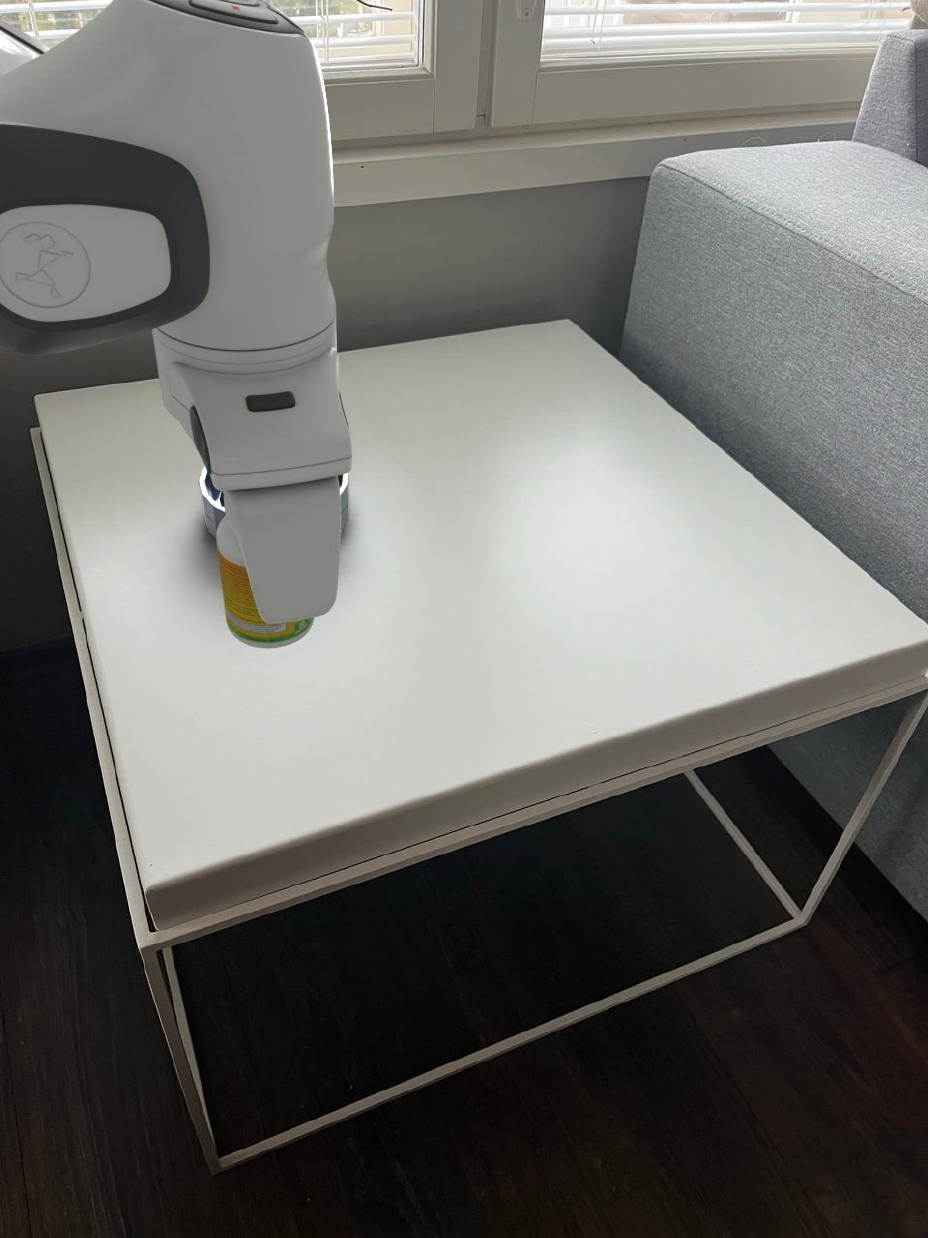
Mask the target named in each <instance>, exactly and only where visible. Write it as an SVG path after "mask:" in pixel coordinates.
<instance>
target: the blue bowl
mask: <svg viewBox="0 0 928 1238" xmlns="http://www.w3.org/2000/svg"><path fill="white" fill-rule="evenodd" d="M200 472H201V473H200V476H199V479H198V489H199V494H200V500H201V507H202V513H203V518H204V522H205V526H206V530H207V531H208V532H209V534H210V535H211V536H212V537H213V538H214V539H215V541H217V539H216V534H217V529H218V526H219V524H220V522H221V521H222V519H223V518H224V517H225V516H226V514H225V505H224V493H223V491H220V490H217V489H216V488H215V487H214V486H213V483H212V480H211V477H210V474H208V473H207V470H206V468H205V465H204V466H203V467H202V469H201V471H200ZM338 480H339V486H340V496H341V533H342V531H343V530H344V528H345V527H346V526H347V524H348V522H349V521H350V520H349V519H350V511H351V510H350V509H351V499H350V497H351V496H350V495H351V494H350V472H349V473H347V474H342V475H338Z"/></svg>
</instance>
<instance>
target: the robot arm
mask: <svg viewBox="0 0 928 1238" xmlns="http://www.w3.org/2000/svg"><path fill="white" fill-rule="evenodd" d="M327 103H328V101H327V96H326V90H325V83H324V78H323V73H322V69H321V63H320V60H319V57H318V53H317V51H316V48H315V45H314V43H313V41H312V40H311V39H310V38H309V36H308V35H307V34H306V33H305V31H304V29H303V28H302V27H301V26H299V24H298V23H297V22H295V21H294V20H293V19H292V18H291V17H290V16H288V15H287V14H286V13H285V12H283V11H281V10H280V9H279V8H277V7H276V6H274V5H273V4H271V3H269V2H267V1H265V0H112V1H111V2H110V3H109V4H108V5H107V6H106V7H105V8H104V9H102V10H101V11H100V12H99V13H98V14H96V16H94V17H93V18H92V19H91V20H90V21H88V22H87V23H86V24H85V25H83V26H82V27H81V28H79V29H78V30H76V31H75V32H74V33H73V34H71V35H70V36H68V37H67V38H65V39H64V40H62V41H61V42H59V43H58V44H56V45H55V46H53V47H52V48H49V47H48V46H47V45H45V44H44V43H42V42H41V41H39V40H38V39H36V38H34V37H33V36H32V35H30V34H28V33H27V32H25V31H23V30H21V29H19V28H17V27H16V26H14V25H12V24H10V23H8V22H7V21H5V20H3V19H1V18H0V349H1V350H5V351H9V352H13V353H19V354H25V355H26V354H27V355H53V354H61V353H67V352H73V351H76V350H82V349H86V348H90V347H94V346H98V345H102V344H106V343H109V342H113V341H116V340H121V339H124V338H127V337H131V336H135V335H138V334H141V333H144V332H148V331H151V334H152V340H153V347H154V354H155V360H156V361H155V362H156V367H157V374H158V381H159V387H160V393H161V394H160V395H161V400H162V403H163V406H164V407H165V409H166V411H167V412H168V413H169V415H171V417H173V418H174V420H176V421H178V422H179V424H180V427H181V428H182V429H183V430H184V432H185V433H186V434H187V436H188V437H189V439H190V440H191V441H192V442H193V444H194V446H195V448H196V450H197V452H198V454H199V456H200V458H201V460H202V463H203V465H204V466H205V468H206V470H207V473H208V474H210V477H211V480H212V483H213V486H214V487H215V488H216V489H217V490H220V491H223V493H224V496H225V498H226V501H227V503H228V506H229V510H230V516H231V519H232V523H233V526H234V529H235V533H236V536H237V539H238V543H239V546H240V549H241V553H242V556H243V559H244V563H245V566H246V570H247V573H248V577H249V581H250V584H251V588H252V592H253V595H254V599H255V602H256V606H257V609H258V612H259V614H260V616H261V618H262V619H263V621H264V622H266V623H268V624H279V623H286V622H293V621H299V620H304V619H309V618H313V617H314V618H318V617H321V616H324V615H326V614H327V613H329V612H330V611H331V609H332V608H333V606H334V605H335V604H336V603H335V602H336V600H337V596H338V588H339V587H338V586H339V573H340V561H341V560H340V557H341V556H340V555H341V539H342V538H341V537H342V532H341V496H340V486H339V480H338V475H342V474H347V473H349V474H350V472H351V470H352V467H353V443H352V437H351V433H350V428H349V427H350V426H349V423H348V418H347V415H346V411H345V408H344V404H343V403H344V402H343V399H342V395H341V391H340V357H339V354H338V336H337V335H338V332H337V327H338V326H337V301H336V295H335V293H334V289H333V286H332V283H331V280H330V276H329V270H328V251H329V245H330V242H331V241H330V240H331V237H332V234H333V230H334V225H335V193H334V191H335V190H334V171H333V153H332V141H331V130H330V119H329V112H328V111H329V110H328V104H327Z"/></svg>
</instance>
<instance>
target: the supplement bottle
mask: <svg viewBox="0 0 928 1238" xmlns="http://www.w3.org/2000/svg"><path fill="white" fill-rule="evenodd" d="M224 505H225V514H226V516H225V517H224V518H223V519H222V521H221V522H220V524H219V526H218V529H217V534H216V539H217V540H216V539H215V540H216V549H217V557H218V566H219V573H220V581H221V582H220V583H221V591H222V598H223V605H224V606H223V607H224V613H225V614H224V615H225V621H226V625H227V629H228V630H229V632H230V633H231V635H232V636H233V637H234V638H235V639H236V640H238V641H239V642H241V643H242V644H244V645H247V646H250V647H253V648H258V649H279V648H282V647H287V646H289V645H293V644H295V643H297V642H299V641H300V640H301V639H303V638H305V636H306V635H307V634H309V632H310V631H311V628H313V624H314V621H315V617H313V618H309V619H304V620H299V621H293V622H286V623H279V624H268V623H266V622H264V621H263V619H262V618H261V616H260V614H259V612H258V609H257V606H256V602H255V599H254V595H253V592H252V588H251V584H250V581H249V577H248V573H247V570H246V566H245V563H244V559H243V556H242V553H241V549H240V546H239V543H238V539H237V536H236V533H235V529H234V526H233V523H232V519H231V516H230V510H229V506H228V503H227V501H226V498H225V496H224Z"/></svg>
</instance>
